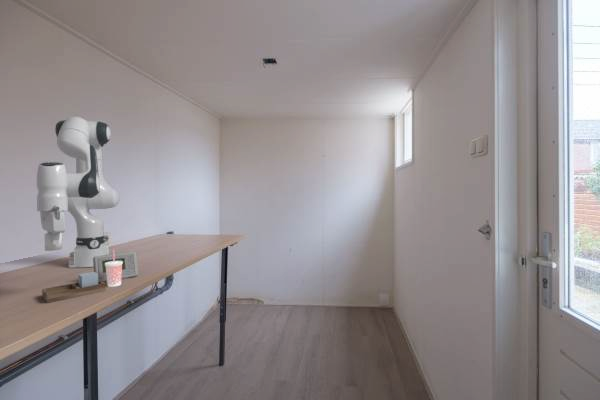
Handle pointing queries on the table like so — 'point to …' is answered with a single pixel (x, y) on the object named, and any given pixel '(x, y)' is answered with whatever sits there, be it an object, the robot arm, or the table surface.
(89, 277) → the blue cube
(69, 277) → the table surface
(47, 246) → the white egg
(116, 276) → the beverage cup
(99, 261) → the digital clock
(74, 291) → the organiser base
